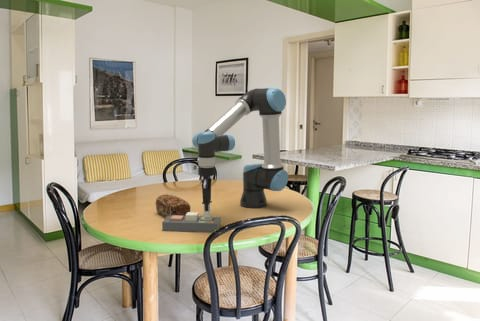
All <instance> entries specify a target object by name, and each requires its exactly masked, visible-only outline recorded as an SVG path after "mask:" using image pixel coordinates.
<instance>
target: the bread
mask: <svg viewBox="0 0 480 321" xmlns="http://www.w3.org/2000/svg"><path fill="white" fill-rule="evenodd" d="M155 209H156V213H157V214H158V215H160V216H162V217H164V218H165V217H166V218H167V217H168V215H172V216H173V215H179V216H185V215H186V214H187V213H188V212H191V205H190V203H189V202H188V201H187V200H185V199H184V198H181V197H179V196H176V195H173V194H162V195H159V196H157V197H156V200H155ZM166 218H165V219H166Z"/></svg>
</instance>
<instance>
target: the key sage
mask: <svg viewBox="0 0 480 321" xmlns="http://www.w3.org/2000/svg"><path fill="white" fill-rule="evenodd" d="M213 217H214V215H213V216H212V215H210V218H204V215H203V217H202V218H201V221H206V222H207V221H213Z"/></svg>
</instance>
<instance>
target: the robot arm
mask: <svg viewBox="0 0 480 321" xmlns="http://www.w3.org/2000/svg"><path fill="white" fill-rule="evenodd" d="M286 106H287V99H286V95H285V93H284V92H283V91H282V90H281V89H279V88H275V87H265V88H263V87H262V88H253V89H250V90H248V91H247V92H245V93H244V94H242V95H241V96H239V98H237V99H236V100H235V102H234V105H232V107H230V108H229V109H228V110H227V111H226V112H224V113H223V114H222V115H221V116H220V117H218V118H217V120H215V122H213V123H212V124H211V125H210V126H208V127H207V129H205V130H204V131H201V132H199V133H195V134H194V135H193V138H192V145H193V146H194V148H197V153H198V154H197V157H198V158H197V159H196V161H197V162H198V163H197V164H198V166H199V167H198V169H197V170H198V173H197V174H198V175H199V176H201V177H202V179H201V191H202V192H201V193H202V202H201V204H202V205H203V216H204V218H210V216H211V203H212V202H213V200H212V182H213V181H212V180H213V179H212V178H211V177H212V176H216V167H215V166H216V153H219V152H222V153H223V152H229V151H233V150H234V148H235V146H236V140H235V137H234V136H233V135H231V134H226V133H227V132H228V131H229V130H230V129H231V128H233V127H234V125H236V124H237V123H238V122H239V121H240V120H241V119H242V118H243V117H244V116H248V115H250V113H252V112H257V111H258V113H259V117H261V120H262V142H263V145H262V146H263V161H264V162H263V163H254V164H253V163H252V164H247V165H245V166H243V169H242V170H243V172H242V178H243V179H242V181H243V183H242V185H243V187H242V188H243V190H242V194H241V197H240V201H239V204H240V206H241V207H242V208H243V207H244V208H248V209H249V208H250V209H251V208H252V209H260V208H265V207H267V205H268V200H267V198H266V194H265V190H268V191H273V192H280V191H283V190H284V189H285V188H286V186H287V184H288V181H289V173H288V171H286V170H285V169H284V164H283V163H282V162H281V150H280V149H281V145H280V144H281V141H280V140H281V139H280V116H281V115H282V113H283V112H282V111H283V110H285V108H286ZM212 204H213V203H212Z"/></svg>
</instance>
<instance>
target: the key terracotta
mask: <svg viewBox="0 0 480 321" xmlns="http://www.w3.org/2000/svg"><path fill="white" fill-rule="evenodd" d="M183 219H184V216H179V215H173V216H172V217H171V218H170V221H182V220H183Z"/></svg>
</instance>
